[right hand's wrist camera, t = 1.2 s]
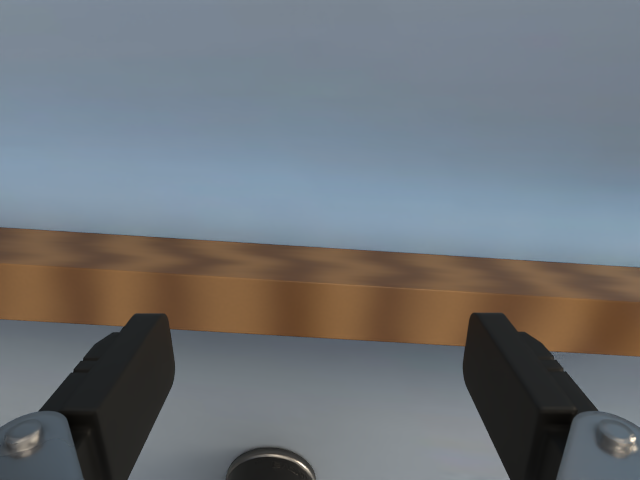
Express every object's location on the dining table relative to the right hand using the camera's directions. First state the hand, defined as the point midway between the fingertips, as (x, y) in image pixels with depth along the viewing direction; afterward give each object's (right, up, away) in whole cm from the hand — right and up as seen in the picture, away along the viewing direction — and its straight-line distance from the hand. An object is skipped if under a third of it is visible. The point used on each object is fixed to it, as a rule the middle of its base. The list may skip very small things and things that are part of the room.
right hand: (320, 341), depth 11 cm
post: (-2, 0, +25) cm, 25 cm away
